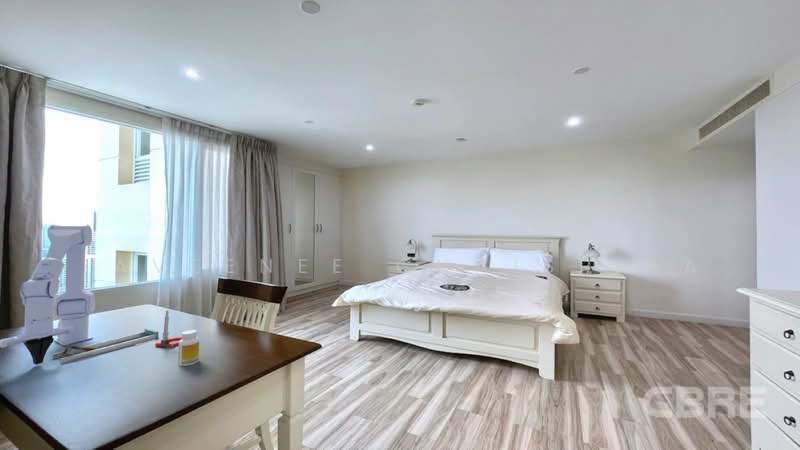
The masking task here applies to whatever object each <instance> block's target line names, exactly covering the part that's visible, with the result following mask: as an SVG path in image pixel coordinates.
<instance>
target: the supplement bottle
mask: <svg viewBox="0 0 800 450" xmlns="http://www.w3.org/2000/svg"><path fill="white" fill-rule="evenodd" d="M197 334H198V331H197V330H195V329H190V330H184V331H182V332H181V336H180V337H182V339H181V340H178V342H179V345H178V353H177V354H178V358H177V364H178V366H180V367H186V366H187V367H188V366H192V365H194V364H196V363H198V362H199V360H200V353H199V352H200V338H199V337H198V336H197Z"/></svg>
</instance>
